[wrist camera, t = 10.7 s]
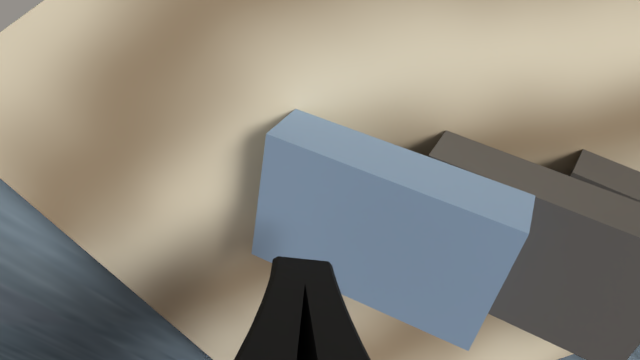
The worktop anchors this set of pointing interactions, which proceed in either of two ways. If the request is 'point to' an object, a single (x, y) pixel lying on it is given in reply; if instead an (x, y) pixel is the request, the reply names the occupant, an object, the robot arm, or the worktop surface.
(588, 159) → the tile
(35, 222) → the worktop surface
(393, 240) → the tile blue
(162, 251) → the board
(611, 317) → the tile
